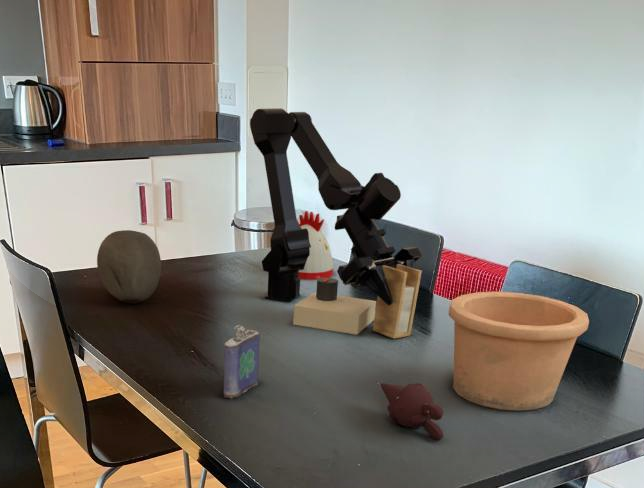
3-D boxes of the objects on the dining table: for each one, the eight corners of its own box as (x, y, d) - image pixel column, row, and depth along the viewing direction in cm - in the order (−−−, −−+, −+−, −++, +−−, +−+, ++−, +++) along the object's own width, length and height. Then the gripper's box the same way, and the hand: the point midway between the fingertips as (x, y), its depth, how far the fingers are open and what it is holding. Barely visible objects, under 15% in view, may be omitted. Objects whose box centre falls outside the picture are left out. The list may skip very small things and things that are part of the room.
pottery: (481, 361, 147) (495, 284, 140) (592, 395, 134) (613, 312, 127) (412, 389, 134) (423, 305, 126) (527, 430, 120) (547, 339, 113)
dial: (320, 294, 169) (321, 275, 167) (339, 297, 168) (341, 277, 166) (313, 299, 166) (314, 279, 164) (332, 302, 164) (334, 282, 162)
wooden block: (291, 324, 163) (292, 304, 161) (313, 309, 174) (314, 290, 171) (356, 334, 159) (358, 314, 157) (375, 318, 169) (377, 299, 167)
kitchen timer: (315, 282, 194) (318, 218, 186) (268, 273, 200) (270, 211, 193) (342, 272, 204) (346, 211, 196) (297, 263, 210) (300, 204, 203)
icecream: (360, 374, 121) (420, 417, 111) (399, 356, 123) (462, 397, 113) (363, 411, 126) (421, 455, 115) (401, 393, 128) (461, 435, 117)
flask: (233, 399, 127) (233, 335, 121) (218, 396, 128) (217, 332, 123) (261, 382, 134) (263, 321, 129) (246, 379, 135) (247, 318, 130)
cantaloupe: (175, 304, 173) (172, 234, 165) (115, 313, 166) (110, 240, 158) (146, 290, 183) (143, 222, 175) (89, 297, 176) (83, 227, 168)
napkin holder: (372, 330, 160) (382, 265, 154) (389, 327, 163) (399, 263, 157) (393, 338, 156) (404, 272, 150) (410, 335, 159) (422, 270, 153)
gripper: (372, 253, 169) (406, 315, 167) (310, 264, 158) (346, 331, 156) (404, 220, 160) (440, 286, 158) (341, 230, 149) (379, 300, 147)
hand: (401, 301), depth 155 cm, fingers closed on napkin holder, 6 cm apart
